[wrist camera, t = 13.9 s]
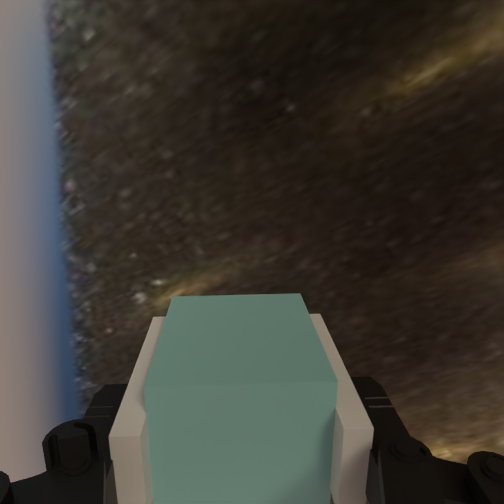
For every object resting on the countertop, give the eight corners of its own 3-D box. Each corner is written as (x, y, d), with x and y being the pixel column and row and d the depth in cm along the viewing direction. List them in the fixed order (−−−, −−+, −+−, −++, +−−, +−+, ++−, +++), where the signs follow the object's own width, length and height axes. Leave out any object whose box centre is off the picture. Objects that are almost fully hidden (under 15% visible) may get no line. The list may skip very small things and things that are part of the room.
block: (172, 296, 17) (143, 387, 11) (300, 293, 17) (338, 380, 11) (179, 406, 18) (156, 538, 12) (296, 402, 18) (328, 528, 13)
